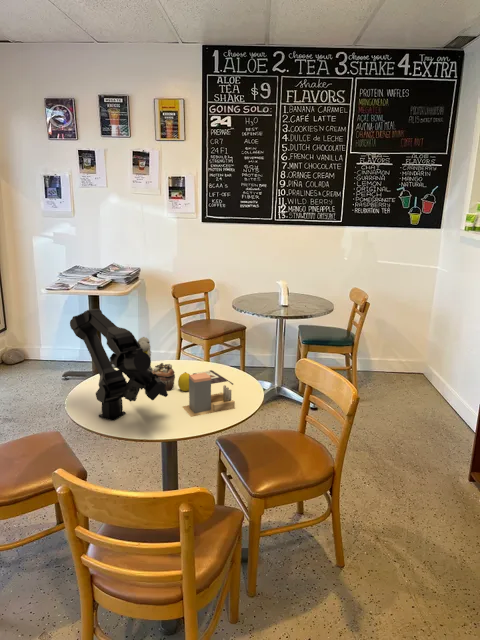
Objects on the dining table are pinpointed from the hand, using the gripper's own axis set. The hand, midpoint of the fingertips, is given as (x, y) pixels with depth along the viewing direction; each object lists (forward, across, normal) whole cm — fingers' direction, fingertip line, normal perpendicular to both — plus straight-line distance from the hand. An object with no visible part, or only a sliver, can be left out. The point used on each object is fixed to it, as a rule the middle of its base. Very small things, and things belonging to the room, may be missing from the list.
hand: (166, 395), depth 154 cm
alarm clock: (+10, -45, -2) cm, 46 cm away
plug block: (+13, 0, +4) cm, 14 cm away
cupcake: (+11, -26, -1) cm, 28 cm away
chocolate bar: (+26, -27, +14) cm, 40 cm away
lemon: (+15, -18, +4) cm, 24 cm away
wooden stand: (+16, 0, +5) cm, 17 cm away
